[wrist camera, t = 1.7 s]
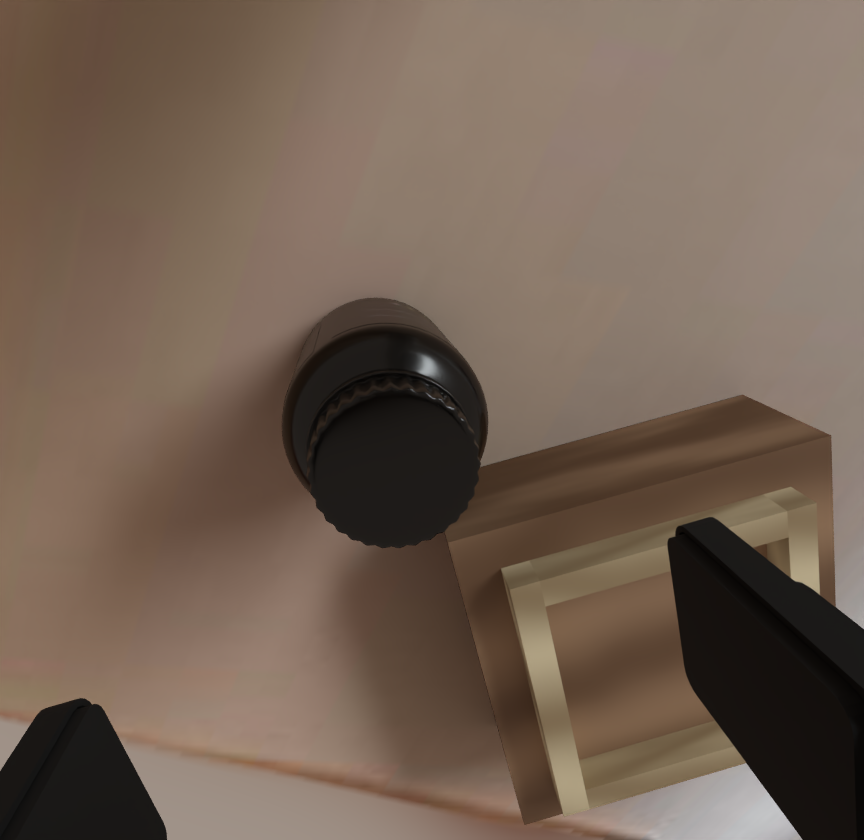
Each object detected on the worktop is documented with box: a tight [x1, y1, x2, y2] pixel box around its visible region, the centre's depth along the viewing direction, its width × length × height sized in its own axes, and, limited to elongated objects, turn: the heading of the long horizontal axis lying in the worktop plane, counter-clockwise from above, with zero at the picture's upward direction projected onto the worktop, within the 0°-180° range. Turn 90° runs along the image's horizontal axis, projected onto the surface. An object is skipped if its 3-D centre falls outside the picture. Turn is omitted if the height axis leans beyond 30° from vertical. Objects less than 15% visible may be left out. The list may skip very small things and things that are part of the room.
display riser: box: [445, 395, 836, 825], centre depth 29 cm, size 16×16×8 cm
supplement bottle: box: [282, 298, 488, 548], centre depth 22 cm, size 7×7×12 cm
